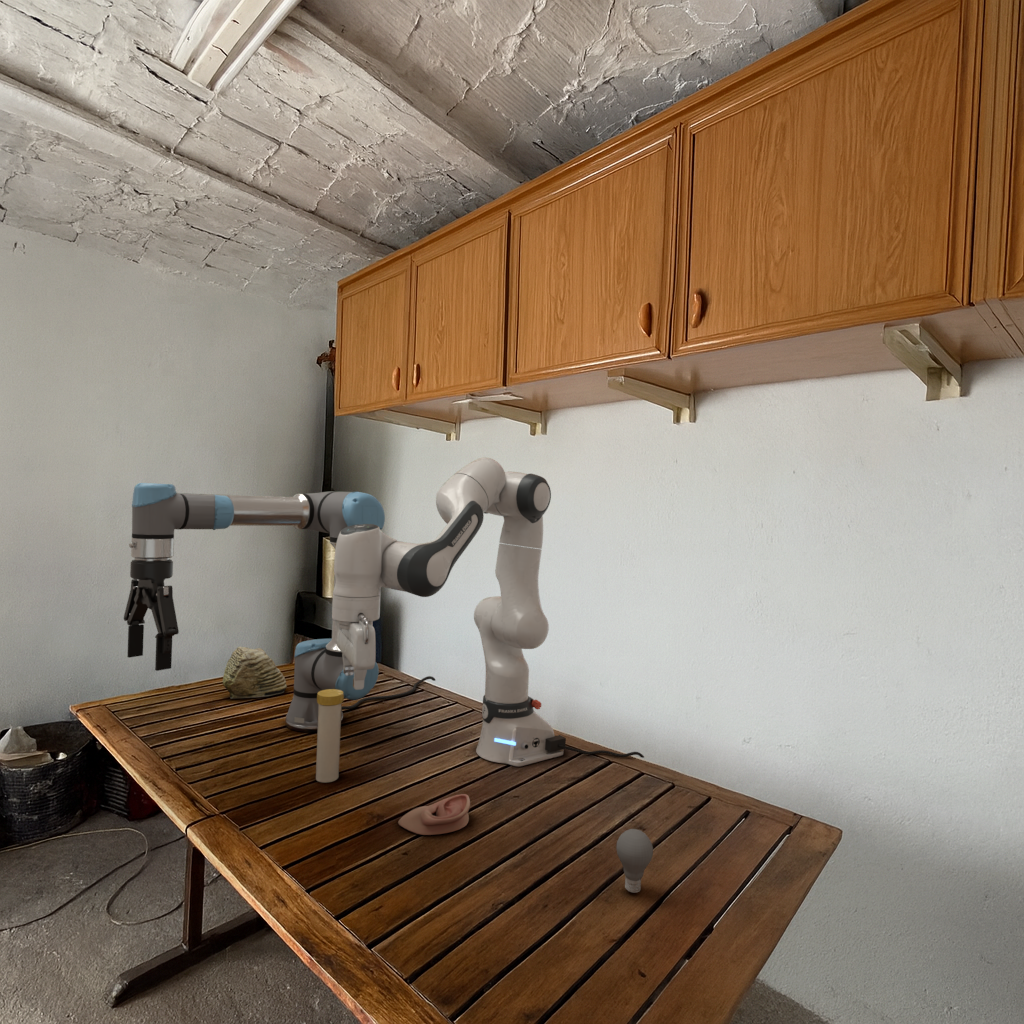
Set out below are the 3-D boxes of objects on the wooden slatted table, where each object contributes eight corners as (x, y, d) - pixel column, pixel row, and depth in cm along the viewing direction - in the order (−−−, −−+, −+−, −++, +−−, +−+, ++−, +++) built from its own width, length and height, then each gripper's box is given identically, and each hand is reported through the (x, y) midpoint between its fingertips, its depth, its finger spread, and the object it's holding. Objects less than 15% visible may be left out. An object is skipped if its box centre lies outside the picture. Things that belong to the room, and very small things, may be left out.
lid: (341, 696, 146) (342, 688, 146) (344, 704, 141) (344, 695, 141) (316, 698, 144) (316, 689, 144) (317, 706, 139) (318, 697, 139)
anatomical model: (392, 810, 121) (414, 784, 132) (391, 830, 121) (413, 803, 132) (459, 820, 118) (475, 792, 130) (458, 841, 118) (474, 812, 130)
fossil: (218, 695, 195) (220, 647, 195) (278, 685, 208) (279, 640, 207) (228, 703, 189) (230, 653, 188) (289, 692, 201) (290, 645, 201)
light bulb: (610, 879, 108) (613, 822, 108) (644, 879, 109) (647, 822, 109) (619, 902, 102) (622, 840, 102) (655, 901, 103) (658, 840, 103)
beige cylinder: (337, 771, 146) (340, 690, 146) (339, 781, 141) (343, 697, 141) (314, 774, 144) (318, 692, 144) (316, 783, 140) (319, 698, 139)
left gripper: (108, 554, 134) (104, 654, 134) (159, 565, 118) (155, 678, 119) (146, 552, 140) (143, 648, 140) (199, 563, 124) (195, 671, 124)
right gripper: (385, 618, 113) (382, 696, 113) (361, 600, 131) (359, 666, 131) (349, 620, 110) (346, 699, 110) (330, 601, 128) (327, 668, 129)
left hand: (148, 662), depth 129 cm, fingers open, 13 cm apart
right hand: (353, 681), depth 121 cm, fingers open, 8 cm apart
